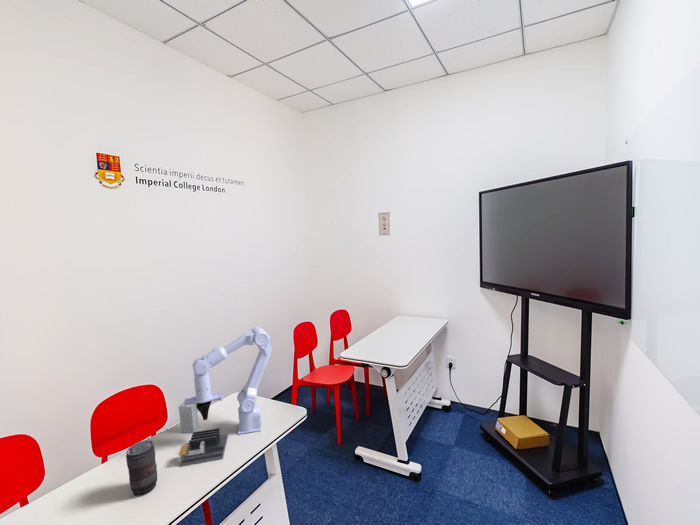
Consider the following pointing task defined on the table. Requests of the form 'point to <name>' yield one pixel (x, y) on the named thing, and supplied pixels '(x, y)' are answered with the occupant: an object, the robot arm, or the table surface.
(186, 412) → the skincare box
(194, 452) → the clip
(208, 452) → the heatsink
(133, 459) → the camera lens
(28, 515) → the table surface
